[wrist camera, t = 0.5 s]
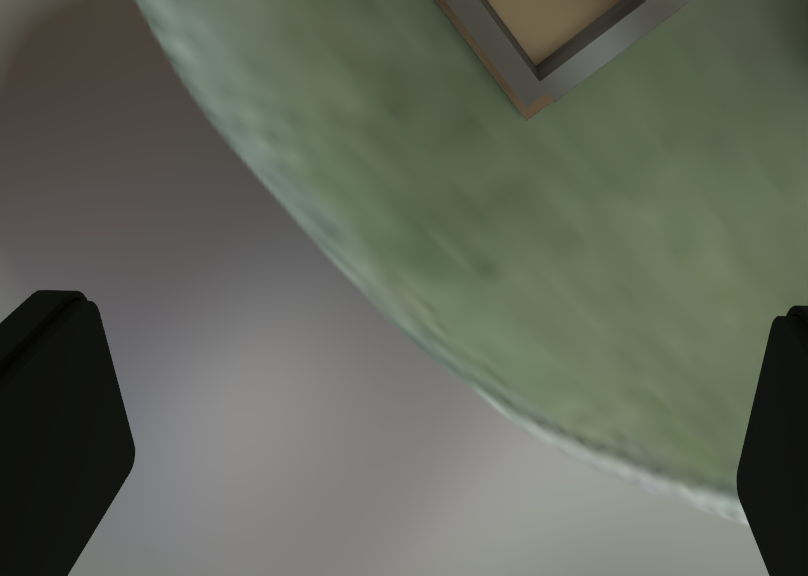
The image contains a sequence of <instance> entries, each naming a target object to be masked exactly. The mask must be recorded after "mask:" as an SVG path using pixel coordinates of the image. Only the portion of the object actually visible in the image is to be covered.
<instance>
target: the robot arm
mask: <svg viewBox="0 0 808 576" xmlns="http://www.w3.org/2000/svg"><path fill="white" fill-rule="evenodd" d="M134 458H135V446H134V442H133V438H132V434H131V430H130V427H129V422H128V419H127V415H126V411H125V407H124V404H123V400H122V396H121V392H120V388H119V385H118V381H117V377H116V373H115V370H114V366H113V362H112V358H111V354H110V350H109V347H108V343H107V339H106V335H105V331H104V328H103V324H102V320H101V316H100V312H99V310H98V307H97V305H96V304H95V303H94V302H92V301H87V298H86V297H85V296H84V294H83V293H81V292H79V291H60V290H38V291H36V292H35V293H33V294H32V295H31V296H30V297H29V298H28V299H26V300H25V301H24V302H23V303H22V304H21V305H20V306H19V307H18V308H16V309H15V310H14V311H13V312H12V313H11V314H10V315H9V316H8V317H7V318H6V319H4V320H3V321H2V322H1V323H0V576H68V574H69V572H70V571H71V569H72V567H73V566H74V564H75V562H76V561H77V559H78V557H79V556H80V554H81V552H82V551H83V549H84V547H85V546H86V544H87V543H88V541H89V539H90V538H91V536H92V534H93V533H94V531H95V529H96V528H97V526H98V524H99V523H100V521H101V519H102V518H103V516H104V515H105V513H106V511H107V510H108V508H109V506H110V505H111V503H112V501H113V500H114V498H115V496H116V495H117V493H118V491H119V490H120V488H121V486H122V485H123V483H124V482H125V480H126V478H127V477H128V475H129V473H130V471H131V469H132V467H133V463H134ZM737 491H738V496H739V500H740V502H741V505H742V507H743V510H744V512H745V515H746V518H747V520H748V523H749V525H750V528H751V530H752V533H753V535H754V538H755V540H756V543H757V545H758V548H759V550H760V553H761V555H762V558H763V560H764V563H765V565H766V568H767V570H768V573H769V575H770V576H808V306H793V307H792V308H790V310H789V311H788V313H787V315H786V316H777V317H776V318H775V319H774V321H773V323H772V326H771V329H770V334H769V338H768V342H767V346H766V351H765V355H764V359H763V363H762V368H761V372H760V376H759V381H758V385H757V389H756V393H755V398H754V402H753V406H752V411H751V415H750V419H749V423H748V428H747V432H746V436H745V441H744V445H743V449H742V453H741V458H740V462H739V466H738V471H737Z"/></svg>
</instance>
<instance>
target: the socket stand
mask: <svg viewBox="0 0 808 576" xmlns="http://www.w3.org/2000/svg"><path fill="white" fill-rule="evenodd" d="M435 1H436V2H437V3H438V5H439V6H440V7H441V9H442V10H443V11H444V13H445V14H446V15H447V17H448V18H449V19H450V20H451V22H452V23H453V24H454V26H455V27H456V28H457V30H458V31H459V32H460V34H461V35H462V36H463V38H464V39H465V40H466V42H467V43H468V44H469V45H470V47H471V48H472V49H473V51H474V52H475V53H476V55H477V56H478V57H479V59H480V60H481V61H482V63H483V64H484V65H485V67H486V68H487V69H488V71H489V72H490V73H491V74H492V76H493V77H494V78H495V80H496V81H497V82H498V84H499V85H500V86H501V88H502V89H503V90H504V92H505V93H506V94H507V96H508V97H509V98H510V99H511V101H512V102H513V103H514V105H515V106H516V107H517V109H518V110H519V111H520V113H521V114H522V115H523V117H524V118H525V119H526V120H528V119H529V118H530V117H532V116H533V115H535V114H536V113H537V112H539V111H540V110H541V109H543V108H544V107H545V106H547V105H548V104H549V103H551V102H552V101H554V102H555V101H556V100H558V99H559V98H560V97H562V96H563V95H564V94H566V93H567V92H569V91H570V90H571V89H573V88H574V87H575V86H577V85H578V84H579V83H581V82H582V81H583V80H585V79H586V78H587V77H589V76H590V75H592V74H593V73H594V72H596V71H597V70H598V69H600V68H601V67H602V66H604V65H605V64H606V63H608V62H609V61H610V60H612V59H613V58H614V57H616V56H617V55H619V54H620V53H621V52H623V51H624V50H625V49H627V48H628V47H629V46H631V45H632V44H633V43H635V42H636V41H637V40H639V39H640V38H641V37H643V36H644V35H646V34H647V33H648V32H650V31H651V30H652V29H654V28H655V27H656V26H658V25H659V24H660V23H662V22H663V21H664V20H666V19H667V18H668V17H670V16H671V15H673V14H674V13H675V12H677V11H678V10H679V9H681V8H682V7H683V6H685V5H686V4H687V3H689V2H690V1H691V0H435Z"/></svg>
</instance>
